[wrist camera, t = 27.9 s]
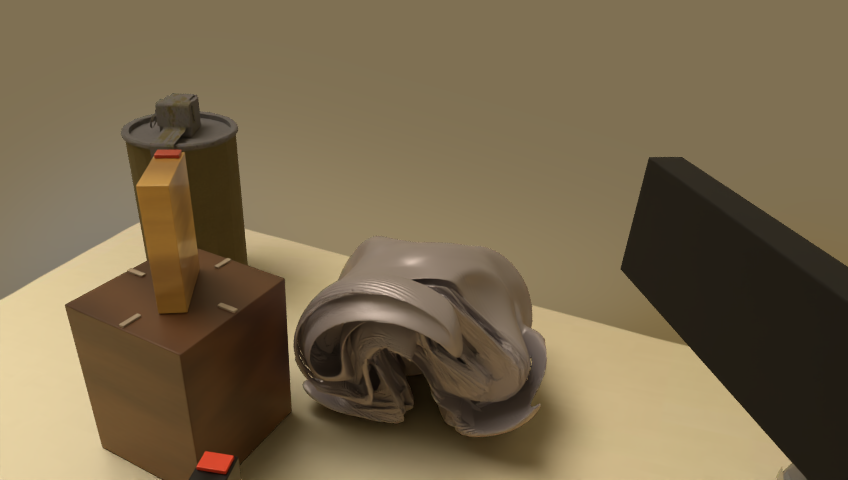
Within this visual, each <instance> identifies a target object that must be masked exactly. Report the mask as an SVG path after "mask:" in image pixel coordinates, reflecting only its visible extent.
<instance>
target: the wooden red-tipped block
mask: <svg viewBox="0 0 848 480" xmlns="http://www.w3.org/2000/svg"><path fill="white" fill-rule="evenodd" d="M136 190H137V196H138V201H139V207H140V213H141V218H142V224H143V229H144V235H145V241H146V246H147V252H148V258H149V263H150V269H151V275H152V280H153V286H154V292H155V297H156V303H157V309H158V313H159V314H163V313H185V312H188V308H189V305H190V301H191V298H192V294H193V291H194V287H195V284H196V280H197V277H198V273H199V270H200V265H199V258H198V250H197V242H196V235H195V227H194V219H193V212H192V204H191V197H190V189H189V181H188V174H187V166H186V158H185V153H184V152H182V150H157V151H156V152H155V154H154V157H153V158H152V160H151V162H150V163H149V165H148V167H147V168H146V170H145V172H144V173H143V175H142V177H141V178H140V180H139V182H138V183H137V185H136Z"/></svg>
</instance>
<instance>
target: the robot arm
mask: <svg viewBox="0 0 848 480" xmlns="http://www.w3.org/2000/svg"><path fill="white" fill-rule="evenodd" d="M621 270H622V271H623V272H624V273H625V275H626V276H627V277H628V278H629V279H630V280H631V281H632V282H633V284H634V285H635V286H636V287H637V288H638V289H639V290H640V292H641V293H642V294H643V295H644V296H645V297H646V298H647V299H648V301H649V302H650V303H651V304H652V305H653V306H654V307H655V308H656V309H657V311H658V312H659V313H660V314H661V315H662V316H663V317H664V319H665V320H666V321H667V322H668V323H669V324H670V325H671V326H672V328H673V329H674V330H675V331H676V332H677V333H678V334H679V335H680V337H681V338H682V339H683V340H684V341H685V342H686V343H687V344H688V346H689V347H690V348H691V349H692V350H693V351H694V352H695V354H696V355H697V356H698V357H699V358H700V359H701V360H702V361H703V363H704V364H705V365H706V366H707V367H708V368H709V369H710V370H711V372H712V373H713V374H714V375H715V376H716V377H717V378H718V380H719V381H720V382H721V383H722V384H723V385H724V386H725V387H726V389H727V390H728V391H729V392H730V393H731V394H732V395H733V396H734V398H735V399H736V400H737V401H738V402H739V403H740V404H741V405H742V407H743V408H744V409H745V410H746V411H747V412H748V413H749V414H750V416H751V417H752V418H753V419H754V420H755V421H756V422H757V424H758V425H759V426H760V427H761V428H762V429H763V430H764V431H765V433H766V434H767V435H768V436H769V437H770V438H771V439H772V440H773V442H774V443H775V444H776V445H777V446H778V447H779V448H780V449H781V451H782V452H783V453H784V454H785V455H786V456H787V457H788V458H789V460H790V461H791V462H792V464H791V465H790V466H789V467H788V468H786V469H785V470H784V471H782V467H781V469H780V471H779V473H778V475H777V480H848V267H847V266H846V265H844V264H843V263H841V262H840V261H838V260H837V259H835V258H834V257H832V256H831V255H829V254H827V253H826V252H825V251H823V250H822V249H820V248H819V247H817V246H815V245H814V244H812V243H811V242H809V241H808V240H806V239H805V238H803V237H802V236H800V235H799V234H797V233H796V232H794V231H793V230H791V229H790V228H788V227H787V226H785V225H784V224H782V223H781V222H779V221H778V220H776V219H775V218H773V217H771V216H770V215H769V214H767V213H765V212H764V211H763V210H761V209H759V208H758V207H756V206H755V205H753V204H752V203H750V202H749V201H747V200H746V199H744V198H743V197H741V196H740V195H738V194H737V193H735V192H734V191H732V190H731V189H729V188H728V187H726V186H724V185H723V184H722V183H720V182H719V181H717V180H715V179H714V178H712V177H711V176H709V175H708V174H707V173H705V172H704V171H702V170H701V169H699V168H698V167H696V166H694V165H693V164H691V163H690V162H688V161H687V160H685V159H684V158H682V157H649V160H648V164H647V168H646V171H645V175H644V179H643V183H642V187H641V191H640V195H639V199H638V203H637V207H636V211H635V214H634V218H633V222H632V226H631V230H630V234H629V238H628V242H627V246H626V250H625V254H624V257H623V261H622V265H621Z"/></svg>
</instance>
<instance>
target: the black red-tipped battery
mask: <svg viewBox="0 0 848 480" xmlns="http://www.w3.org/2000/svg"><path fill="white" fill-rule="evenodd" d="M189 480H241V475H240V466H239V457H238V456H233V455H227V454H221V453H214V452H208V451H205V452H204V454H203V456H202V457H201V459H200V461H199V462H198V464H197V466H196V468H195V469H194V471H193V473H192V474H191V476H190V478H189Z"/></svg>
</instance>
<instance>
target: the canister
mask: <svg viewBox="0 0 848 480" xmlns="http://www.w3.org/2000/svg"><path fill="white" fill-rule="evenodd" d="M237 131H238V126H237V124H236V123H235V122H234V121H233V120H232V119H230V118H229V117H225V116H222V115H218V114H214V113H210V112H200V111H199V102H198V97H197V95H194V94H174V93H173V94H171V95H170V96H167V97H166V98H164V99H160V100H159V101H157V102H156V110H155V114H153V115H147V116H144V117H140V118H137V119H134V120H133V121H131V122H129V123H127V124H126V125H125V126H124V127H123V128H122V131H121V135H122V138H123V139H124V140H125V141H126V145H127V152H128V157H129V163H130V168H131V174H132V179H133V185H134V191H135V196H136V202H137V207H138V213H139V219H140V224H141V230H142V235H143V241H144V247H145V252H146V258H147V261H148V260H149V258H148V252H147V246H146V241H145V235H144V229H143V224H142V218H141V213H140V207H139V201H138V196H137V190H136V185H137V183H138V182H139V180H140V178H141V177H142V175H143V173H144V172H145V170H146V168H147V167H148V165H149V163H150V162H151V160H152V158H153V157H154V154H155V152H156V151H157V150H182V152H184V153H185V158H186V166H187V174H188V181H189V189H190V197H191V204H192V212H193V219H194V227H195V235H196V242H197V248H198V249H201V250H204V251H207V252H210V253H213V254H215V255H218V256H221V257H224V258H229V259H231V260H233V261H236V262H238V263H241V264H244V265H247V266H248V262H247V252H246V241H245V230H244V220H243V208H242V197H241V186H240V176H239V165H238V154H237V143H236V133H237Z"/></svg>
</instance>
